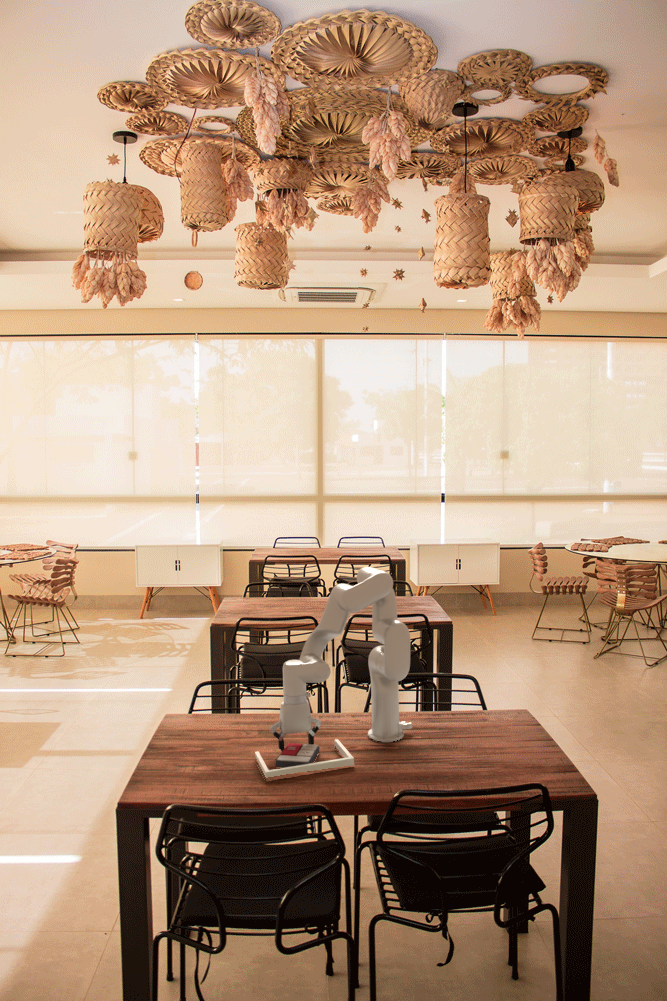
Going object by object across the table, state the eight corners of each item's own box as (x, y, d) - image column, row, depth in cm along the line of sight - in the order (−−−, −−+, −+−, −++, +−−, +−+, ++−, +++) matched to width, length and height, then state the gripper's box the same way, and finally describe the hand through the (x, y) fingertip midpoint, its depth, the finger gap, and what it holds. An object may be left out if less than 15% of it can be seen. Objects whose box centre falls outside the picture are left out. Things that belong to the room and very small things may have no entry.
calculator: (319, 743, 235) (309, 760, 221) (319, 756, 235) (309, 774, 221) (287, 741, 238) (275, 758, 223) (287, 754, 238) (275, 772, 223)
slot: (338, 747, 240) (337, 739, 239) (354, 767, 224) (353, 758, 224) (255, 760, 231) (254, 751, 231) (266, 782, 216) (265, 772, 215)
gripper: (317, 691, 241) (318, 740, 242) (267, 697, 236) (268, 748, 237) (323, 698, 234) (324, 749, 235) (271, 705, 229) (273, 757, 230)
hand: (296, 748), depth 236 cm, fingers open, 9 cm apart
